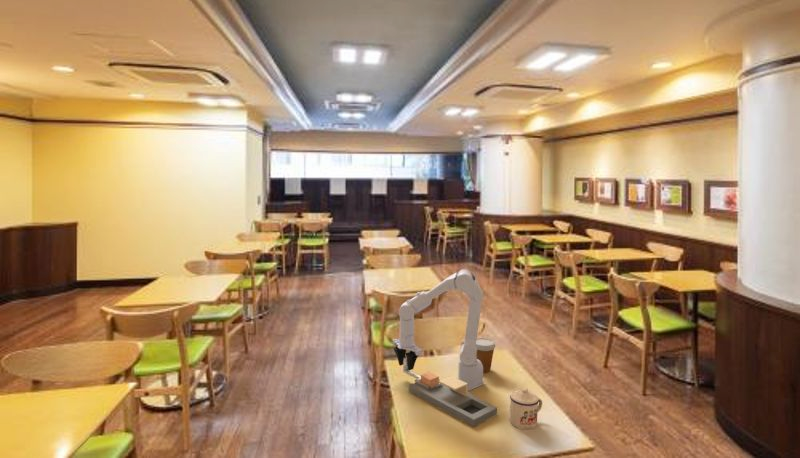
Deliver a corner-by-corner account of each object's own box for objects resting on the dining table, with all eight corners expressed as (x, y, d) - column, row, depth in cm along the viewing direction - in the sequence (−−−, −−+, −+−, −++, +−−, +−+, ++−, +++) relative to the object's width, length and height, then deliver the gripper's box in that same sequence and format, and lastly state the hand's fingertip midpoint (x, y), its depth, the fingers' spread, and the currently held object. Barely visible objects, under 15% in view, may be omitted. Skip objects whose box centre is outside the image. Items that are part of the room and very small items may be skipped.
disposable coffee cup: (494, 375, 190) (495, 347, 189) (470, 373, 192) (471, 344, 191) (494, 366, 200) (495, 338, 198) (471, 363, 202) (472, 336, 200)
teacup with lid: (521, 432, 150) (523, 398, 149) (503, 418, 158) (504, 385, 157) (550, 424, 155) (552, 390, 154) (531, 411, 163) (533, 379, 162)
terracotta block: (420, 384, 177) (420, 375, 176) (429, 380, 180) (429, 371, 179) (430, 389, 173) (430, 379, 173) (438, 385, 176) (438, 376, 176)
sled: (398, 373, 185) (398, 358, 184) (410, 369, 189) (410, 354, 188) (430, 390, 172) (430, 374, 171) (442, 385, 176) (442, 369, 175)
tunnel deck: (409, 391, 176) (409, 373, 175) (432, 382, 184) (432, 364, 183) (473, 426, 153) (474, 406, 152) (497, 414, 161) (497, 394, 160)
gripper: (386, 330, 187) (386, 363, 189) (411, 341, 176) (411, 376, 178) (400, 326, 192) (400, 359, 193) (425, 337, 181) (424, 371, 183)
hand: (406, 367), depth 186 cm, fingers open, 5 cm apart
